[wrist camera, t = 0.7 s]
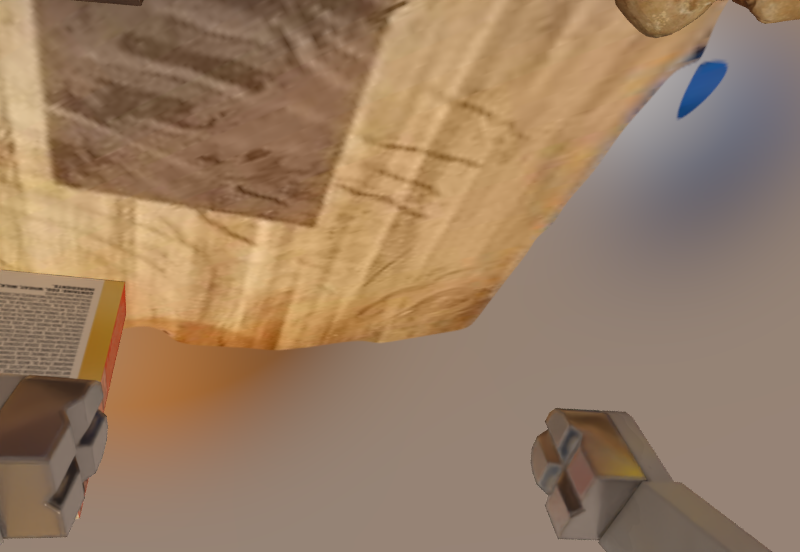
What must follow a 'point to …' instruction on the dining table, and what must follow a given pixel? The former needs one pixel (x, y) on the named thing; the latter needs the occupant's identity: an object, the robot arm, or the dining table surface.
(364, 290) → the dining table surface
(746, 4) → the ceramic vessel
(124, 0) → the cabinet
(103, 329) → the pasta box
